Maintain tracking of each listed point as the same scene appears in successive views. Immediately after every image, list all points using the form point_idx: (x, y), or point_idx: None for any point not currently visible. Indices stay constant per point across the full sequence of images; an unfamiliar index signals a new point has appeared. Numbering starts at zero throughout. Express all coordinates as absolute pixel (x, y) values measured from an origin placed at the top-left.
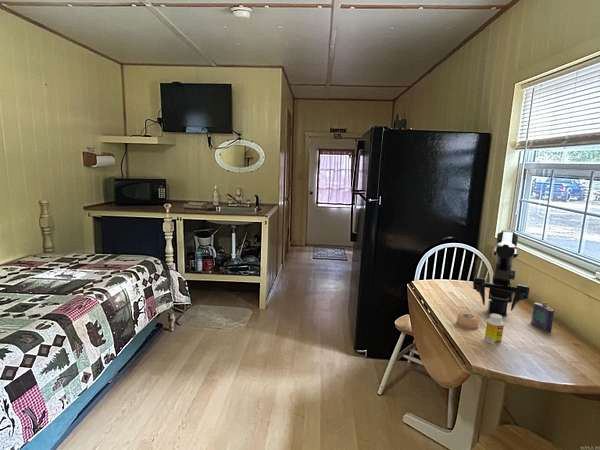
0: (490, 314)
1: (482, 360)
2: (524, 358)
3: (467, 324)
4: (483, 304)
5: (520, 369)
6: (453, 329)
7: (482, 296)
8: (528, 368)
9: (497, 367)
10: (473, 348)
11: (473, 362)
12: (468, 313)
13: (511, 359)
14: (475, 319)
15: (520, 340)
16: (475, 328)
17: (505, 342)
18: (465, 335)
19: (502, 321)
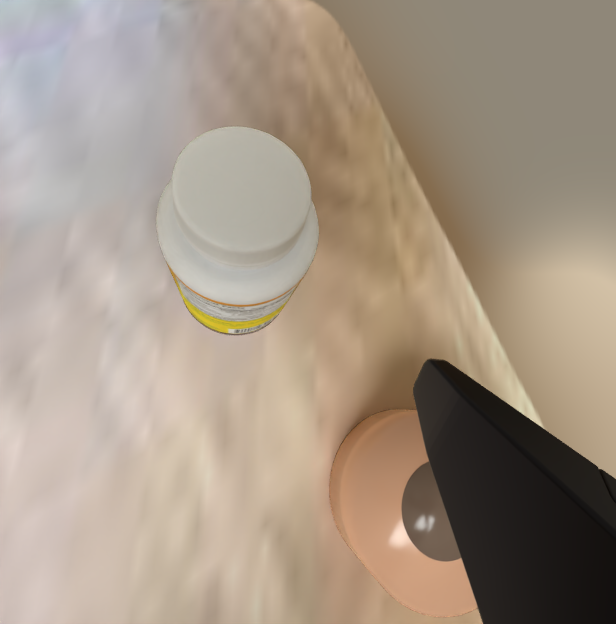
0: (309, 196)
1: (293, 48)
2: (61, 137)
3: (413, 410)
4: (430, 368)
5: (114, 16)
6: (465, 354)
7: (558, 445)
8: (66, 35)
9: (228, 7)
10: (339, 152)
11: (330, 21)
12: (452, 583)
13: (146, 101)
14: (383, 454)
15: (20, 418)
16: (348, 437)
17: (150, 318)
18: (392, 300)
19: (169, 228)
